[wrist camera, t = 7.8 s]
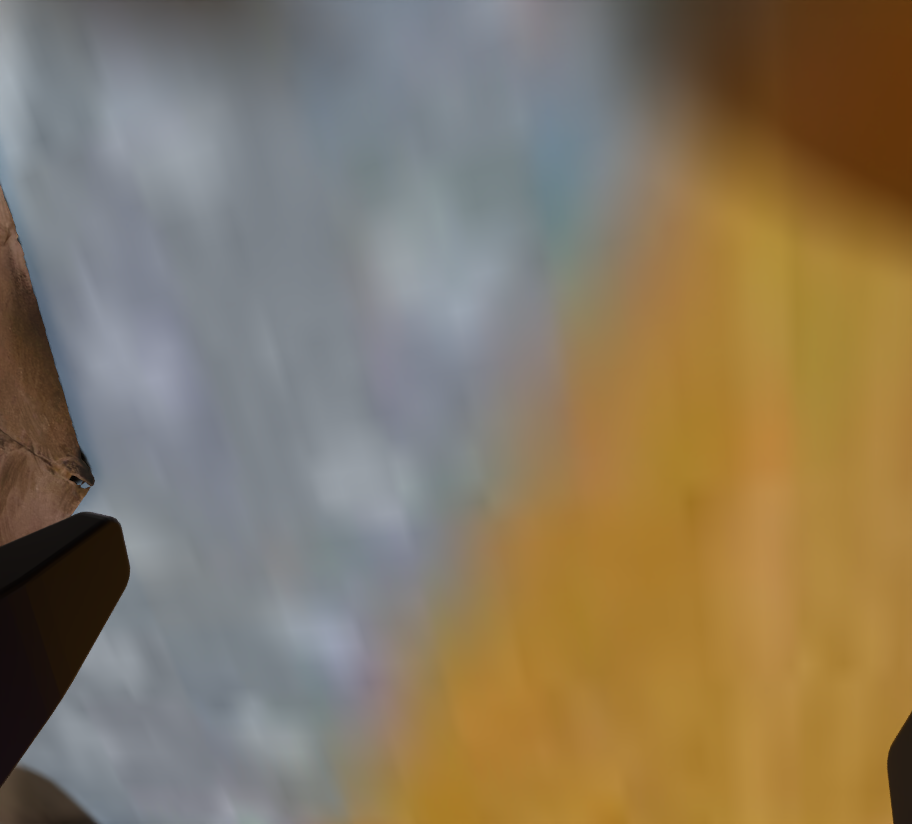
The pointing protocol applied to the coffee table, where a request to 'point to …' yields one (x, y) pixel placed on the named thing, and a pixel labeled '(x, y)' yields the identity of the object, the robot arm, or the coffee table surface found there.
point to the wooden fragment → (31, 408)
